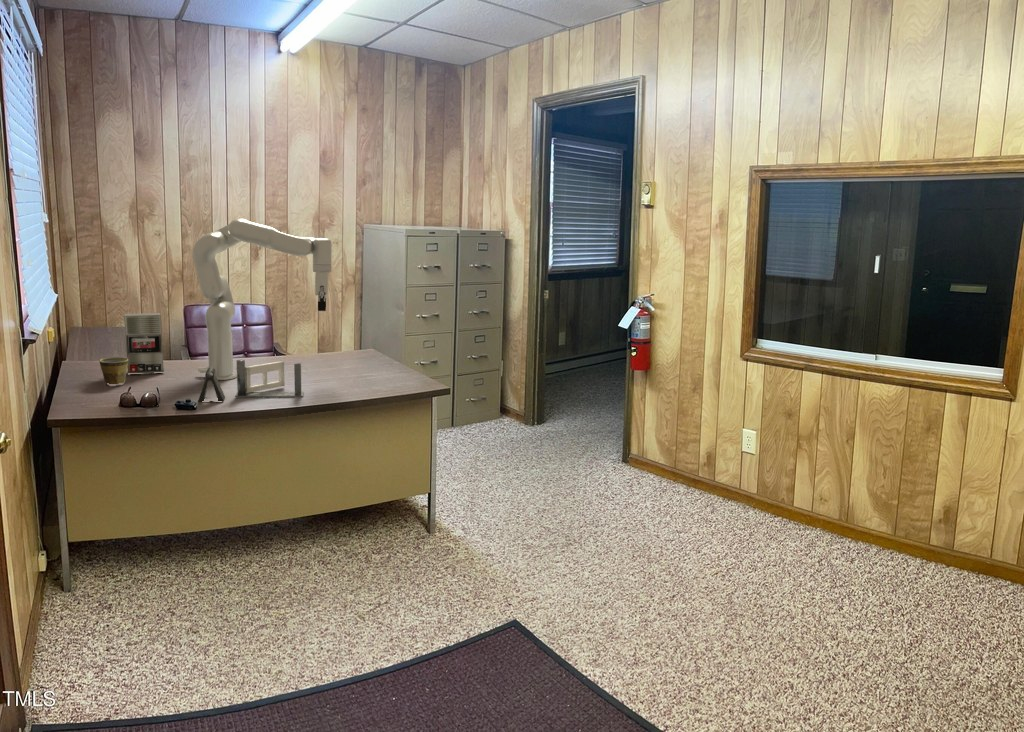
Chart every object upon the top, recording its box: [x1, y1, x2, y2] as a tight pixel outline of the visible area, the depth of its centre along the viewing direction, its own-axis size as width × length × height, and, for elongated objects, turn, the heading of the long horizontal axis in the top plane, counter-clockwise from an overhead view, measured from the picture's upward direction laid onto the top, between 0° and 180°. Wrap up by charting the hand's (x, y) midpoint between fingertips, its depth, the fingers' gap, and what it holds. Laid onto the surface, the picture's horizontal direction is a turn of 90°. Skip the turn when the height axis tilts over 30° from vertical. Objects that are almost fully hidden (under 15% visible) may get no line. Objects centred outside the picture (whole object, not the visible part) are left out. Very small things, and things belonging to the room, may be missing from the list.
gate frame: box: [234, 359, 305, 399], centre depth 296 cm, size 25×6×14 cm, turn 102°
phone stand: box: [197, 368, 226, 403], centre depth 287 cm, size 9×6×12 cm, turn 105°
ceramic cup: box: [99, 356, 128, 384], centre depth 303 cm, size 13×10×10 cm
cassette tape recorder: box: [123, 312, 165, 374], centre depth 320 cm, size 14×6×25 cm, turn 114°
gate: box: [245, 360, 286, 393], centre depth 303 cm, size 17×2×10 cm, turn 142°
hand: (322, 309), depth 323 cm, fingers open, 9 cm apart
